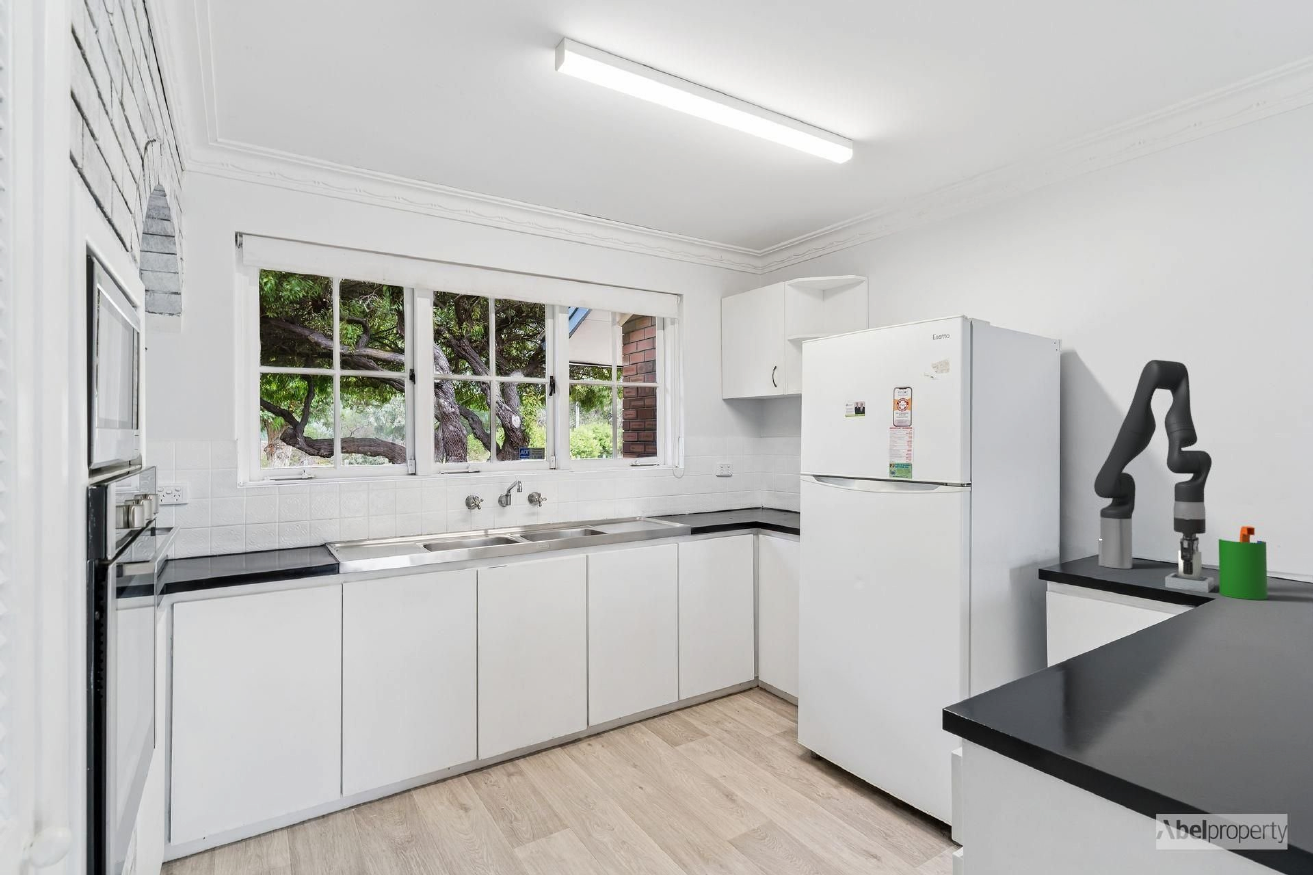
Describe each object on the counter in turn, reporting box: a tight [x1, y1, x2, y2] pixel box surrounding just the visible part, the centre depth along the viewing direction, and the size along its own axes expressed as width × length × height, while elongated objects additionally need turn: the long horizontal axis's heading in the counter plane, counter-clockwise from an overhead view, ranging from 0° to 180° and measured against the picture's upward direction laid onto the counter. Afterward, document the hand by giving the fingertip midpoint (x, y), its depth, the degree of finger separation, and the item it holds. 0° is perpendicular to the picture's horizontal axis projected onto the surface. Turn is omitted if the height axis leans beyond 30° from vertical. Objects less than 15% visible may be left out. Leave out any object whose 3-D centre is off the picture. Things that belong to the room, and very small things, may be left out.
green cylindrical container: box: [1218, 525, 1268, 601], centre depth 189 cm, size 10×9×20 cm
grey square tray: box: [1164, 572, 1215, 593], centre depth 201 cm, size 10×10×3 cm
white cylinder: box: [1177, 549, 1203, 580], centre depth 201 cm, size 5×5×9 cm
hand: (1189, 572), depth 201 cm, fingers closed on white cylinder, 5 cm apart
